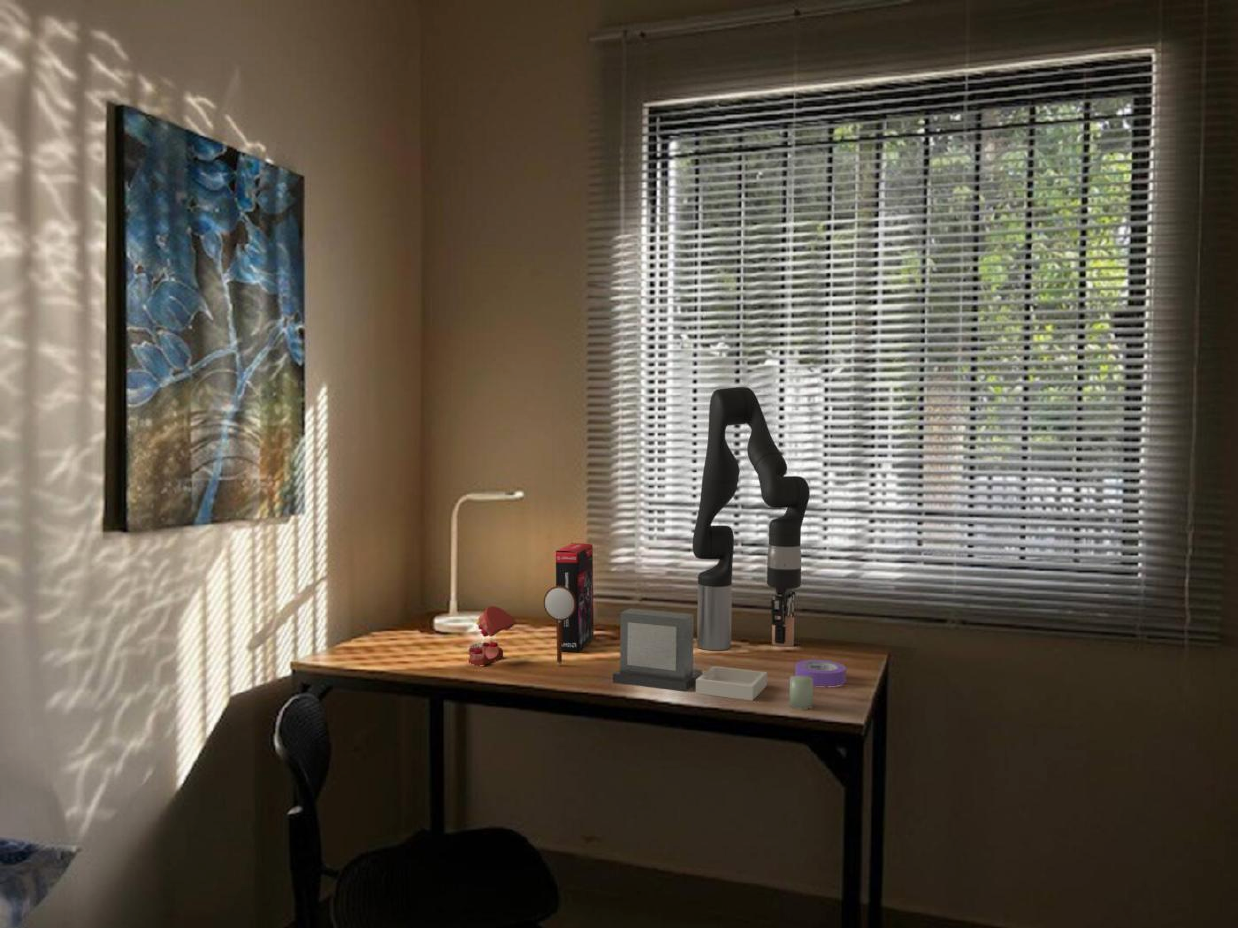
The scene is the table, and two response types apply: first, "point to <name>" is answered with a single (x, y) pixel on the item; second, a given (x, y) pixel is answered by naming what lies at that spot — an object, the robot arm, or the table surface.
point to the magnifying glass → (559, 610)
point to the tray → (731, 683)
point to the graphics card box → (577, 593)
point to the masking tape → (822, 672)
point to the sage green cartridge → (801, 692)
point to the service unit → (657, 650)
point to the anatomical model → (490, 625)
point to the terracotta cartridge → (789, 633)
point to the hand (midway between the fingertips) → (782, 640)
